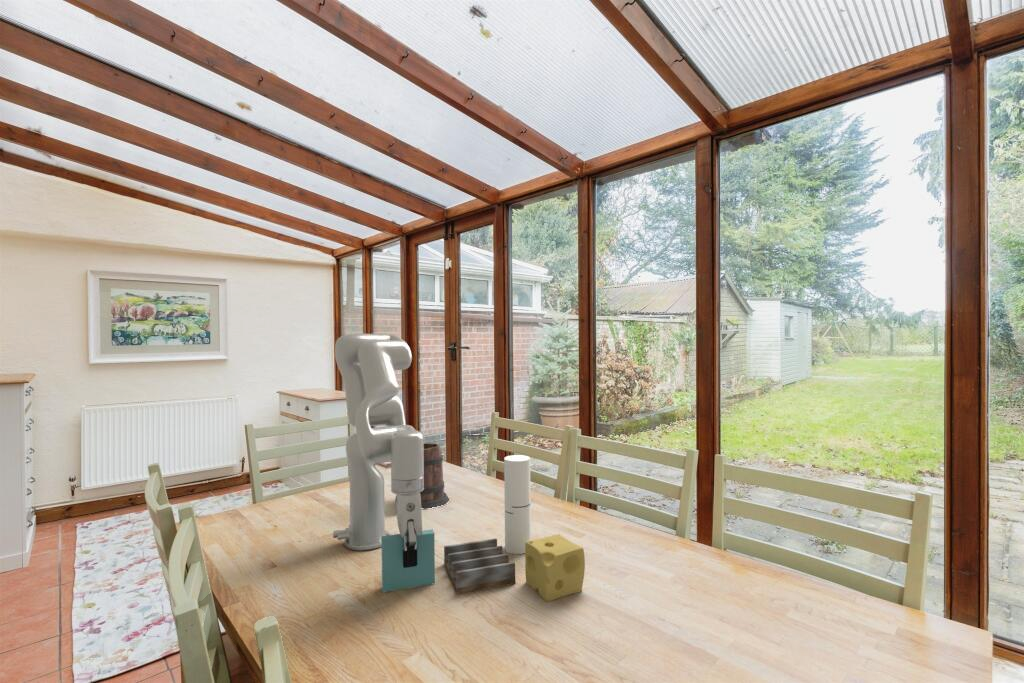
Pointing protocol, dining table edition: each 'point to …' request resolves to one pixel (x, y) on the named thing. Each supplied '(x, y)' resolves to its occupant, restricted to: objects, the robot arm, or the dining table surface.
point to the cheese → (554, 566)
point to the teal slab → (393, 562)
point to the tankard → (433, 478)
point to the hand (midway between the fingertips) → (408, 559)
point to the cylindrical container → (517, 503)
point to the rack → (478, 566)
